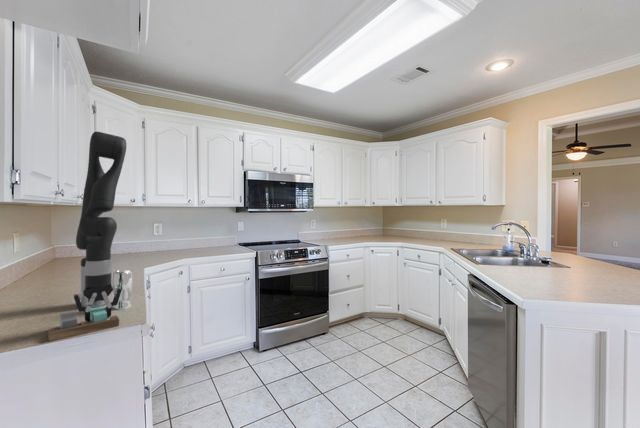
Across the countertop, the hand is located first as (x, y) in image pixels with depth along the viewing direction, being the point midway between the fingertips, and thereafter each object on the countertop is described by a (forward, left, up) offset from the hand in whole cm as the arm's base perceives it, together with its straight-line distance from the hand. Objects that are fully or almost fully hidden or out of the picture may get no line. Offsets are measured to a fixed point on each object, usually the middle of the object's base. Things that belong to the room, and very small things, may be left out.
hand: (98, 319), depth 102 cm
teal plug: (0, 0, -2) cm, 2 cm away
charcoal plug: (0, -8, -2) cm, 8 cm away
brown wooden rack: (+4, -4, -2) cm, 6 cm away
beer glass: (-15, +10, -2) cm, 18 cm away
